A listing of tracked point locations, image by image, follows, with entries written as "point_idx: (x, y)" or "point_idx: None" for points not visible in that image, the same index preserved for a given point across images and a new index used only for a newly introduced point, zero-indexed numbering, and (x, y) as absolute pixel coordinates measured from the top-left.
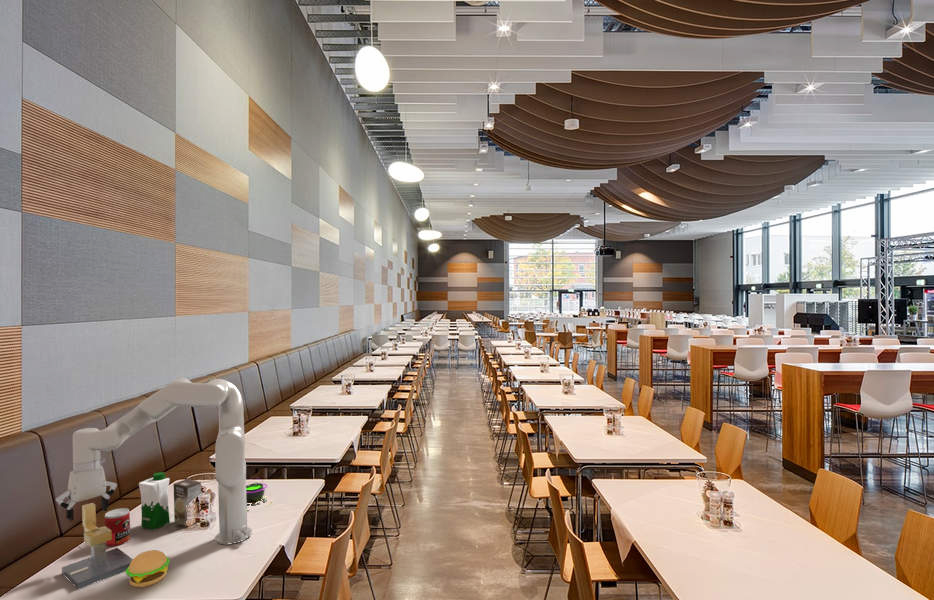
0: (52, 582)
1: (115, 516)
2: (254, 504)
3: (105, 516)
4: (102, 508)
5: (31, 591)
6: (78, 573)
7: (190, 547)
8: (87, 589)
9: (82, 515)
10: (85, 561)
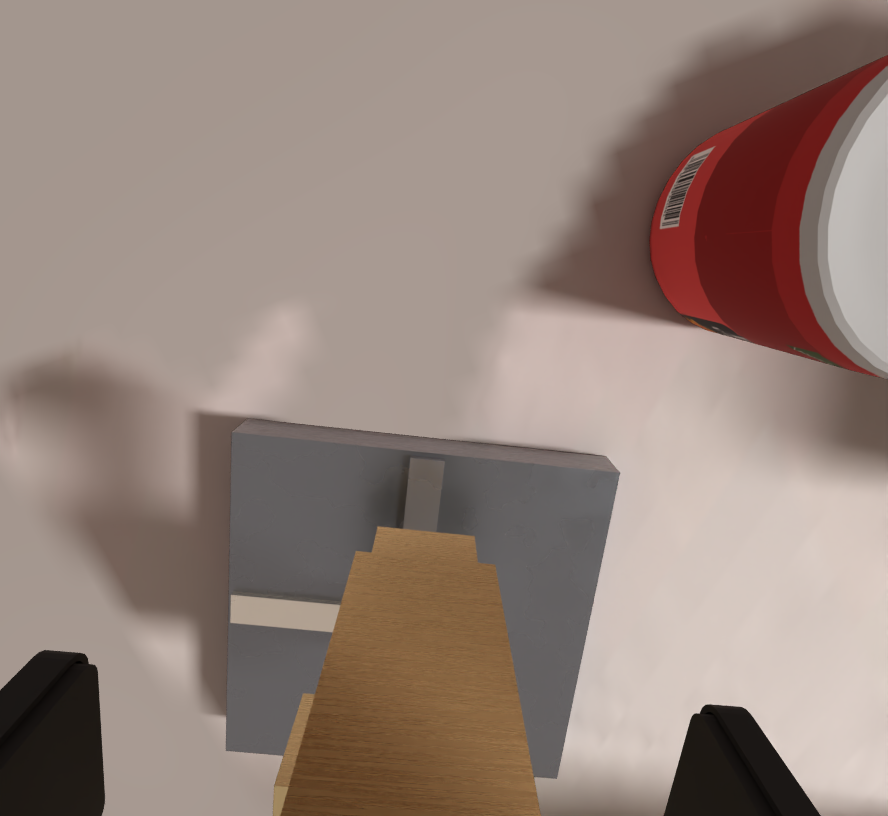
0: (169, 495)
1: (868, 359)
2: None
3: (820, 197)
4: (695, 773)
5: (48, 500)
6: (274, 632)
7: (859, 793)
8: (274, 755)
9: (320, 684)
10: (375, 493)
